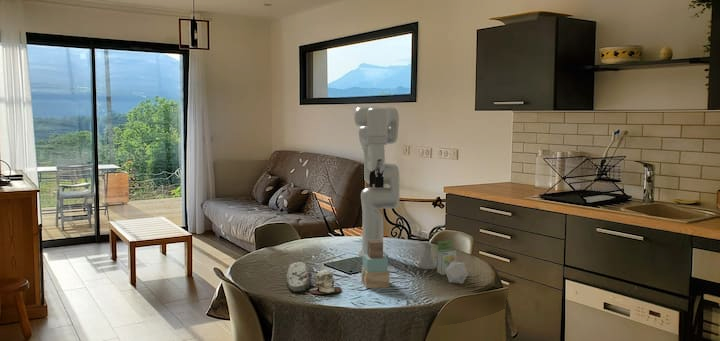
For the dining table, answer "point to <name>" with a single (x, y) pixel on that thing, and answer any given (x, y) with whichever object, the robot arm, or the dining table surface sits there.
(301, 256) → the dining table surface
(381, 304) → the dining table surface
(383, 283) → the bottom block
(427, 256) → the flask
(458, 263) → the die
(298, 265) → the elongated rock
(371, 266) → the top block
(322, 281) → the skull
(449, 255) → the ink box
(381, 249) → the walnut block
